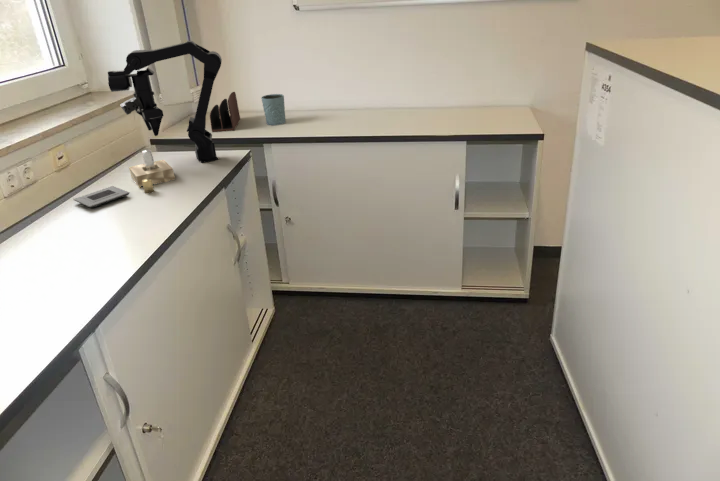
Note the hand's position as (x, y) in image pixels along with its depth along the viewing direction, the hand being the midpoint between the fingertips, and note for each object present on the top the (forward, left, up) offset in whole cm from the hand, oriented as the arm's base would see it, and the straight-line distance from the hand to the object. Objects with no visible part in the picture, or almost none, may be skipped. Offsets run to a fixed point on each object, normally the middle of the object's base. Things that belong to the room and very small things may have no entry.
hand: (153, 132), depth 195 cm
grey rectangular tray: (+24, +24, -13) cm, 36 cm away
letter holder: (-39, -37, -12) cm, 55 cm away
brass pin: (+10, +26, -12) cm, 30 cm away
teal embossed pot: (-58, -25, -12) cm, 64 cm away
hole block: (+6, +14, -12) cm, 19 cm away
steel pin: (+6, +14, -12) cm, 19 cm away
